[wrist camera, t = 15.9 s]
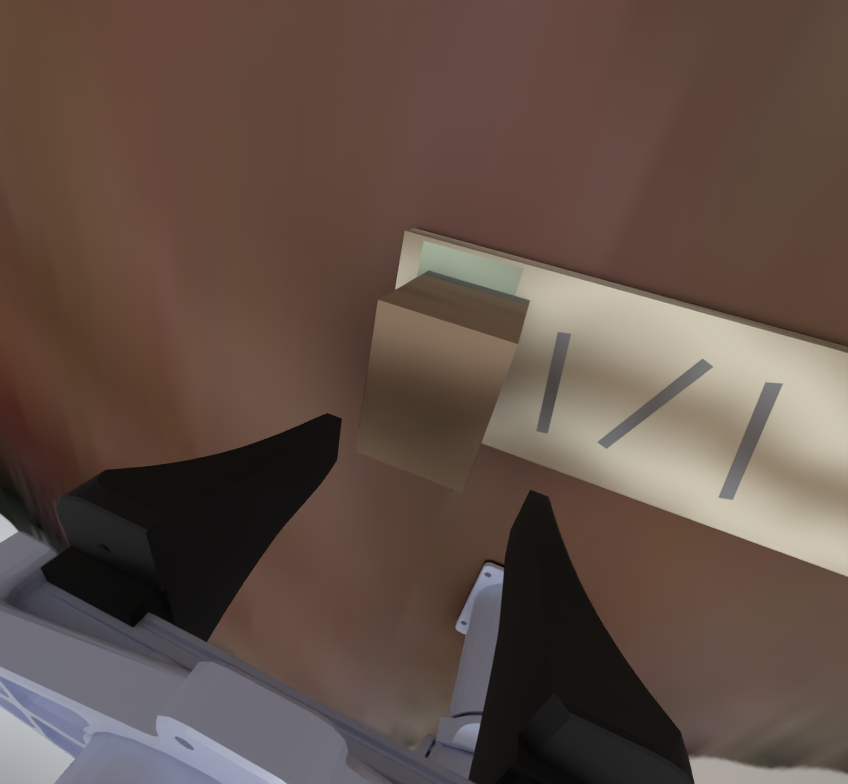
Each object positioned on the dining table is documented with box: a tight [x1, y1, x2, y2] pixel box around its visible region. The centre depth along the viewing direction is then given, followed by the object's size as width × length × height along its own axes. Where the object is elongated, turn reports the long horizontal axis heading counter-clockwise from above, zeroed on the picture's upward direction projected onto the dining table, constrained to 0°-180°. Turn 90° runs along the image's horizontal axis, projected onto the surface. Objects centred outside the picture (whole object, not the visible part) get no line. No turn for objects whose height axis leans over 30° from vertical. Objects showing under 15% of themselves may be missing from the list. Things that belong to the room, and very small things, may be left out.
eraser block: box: [356, 271, 530, 494], centre depth 17 cm, size 7×5×6 cm
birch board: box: [395, 228, 848, 576], centre depth 18 cm, size 10×28×2 cm, turn 78°
